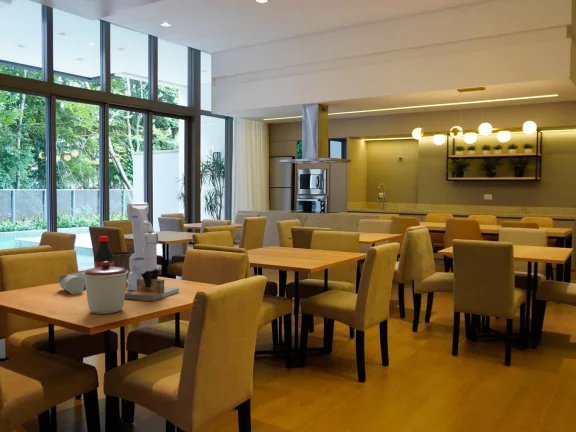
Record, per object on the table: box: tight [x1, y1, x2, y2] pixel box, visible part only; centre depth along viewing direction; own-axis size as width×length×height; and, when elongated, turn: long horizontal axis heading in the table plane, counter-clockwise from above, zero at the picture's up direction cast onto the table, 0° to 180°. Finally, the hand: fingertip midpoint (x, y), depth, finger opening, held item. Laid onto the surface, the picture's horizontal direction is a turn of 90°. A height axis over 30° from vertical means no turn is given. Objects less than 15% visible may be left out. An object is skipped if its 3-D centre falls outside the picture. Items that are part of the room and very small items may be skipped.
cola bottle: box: [93, 235, 114, 268], centre depth 234 cm, size 8×8×30 cm
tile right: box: [141, 292, 159, 296], centre depth 243 cm, size 6×6×2 cm
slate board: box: [147, 286, 180, 298], centre depth 254 cm, size 15×14×2 cm
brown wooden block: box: [137, 278, 165, 293], centre depth 249 cm, size 13×4×6 cm, turn 69°
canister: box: [83, 261, 129, 315], centre depth 218 cm, size 18×18×21 cm
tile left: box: [129, 291, 147, 295], centre depth 246 cm, size 6×6×2 cm
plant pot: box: [111, 251, 134, 283], centre depth 284 cm, size 15×15×16 cm
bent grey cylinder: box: [57, 270, 87, 295], centre depth 264 cm, size 18×11×20 cm
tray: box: [124, 290, 164, 303], centre depth 244 cm, size 16×8×2 cm, turn 69°
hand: (150, 286), depth 249 cm, fingers closed on brown wooden block, 3 cm apart
